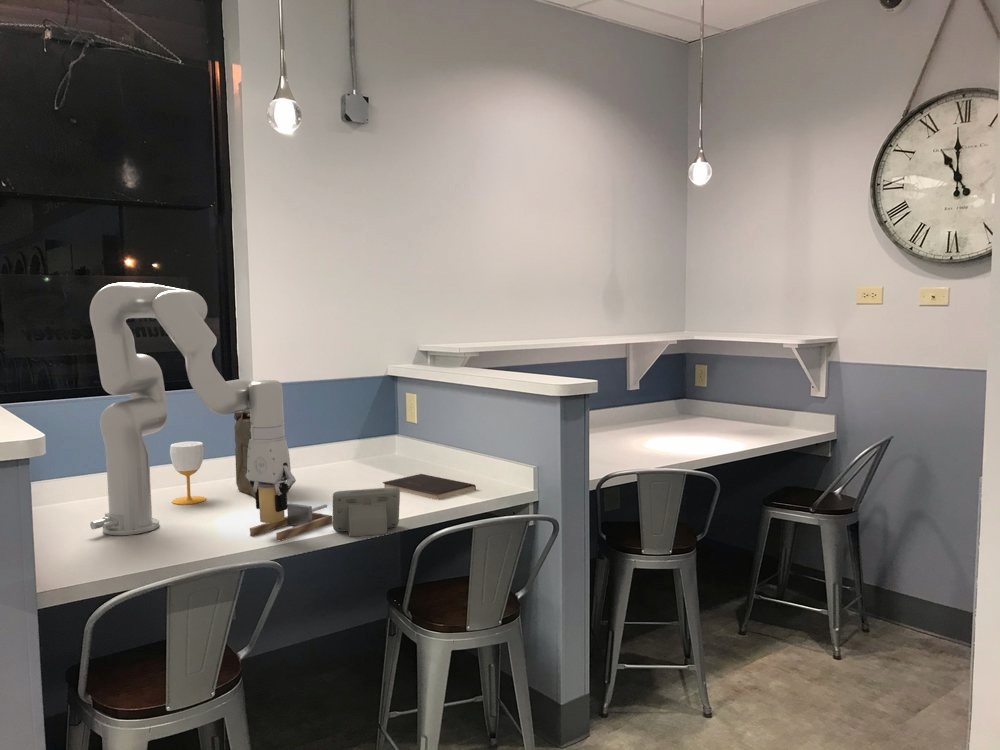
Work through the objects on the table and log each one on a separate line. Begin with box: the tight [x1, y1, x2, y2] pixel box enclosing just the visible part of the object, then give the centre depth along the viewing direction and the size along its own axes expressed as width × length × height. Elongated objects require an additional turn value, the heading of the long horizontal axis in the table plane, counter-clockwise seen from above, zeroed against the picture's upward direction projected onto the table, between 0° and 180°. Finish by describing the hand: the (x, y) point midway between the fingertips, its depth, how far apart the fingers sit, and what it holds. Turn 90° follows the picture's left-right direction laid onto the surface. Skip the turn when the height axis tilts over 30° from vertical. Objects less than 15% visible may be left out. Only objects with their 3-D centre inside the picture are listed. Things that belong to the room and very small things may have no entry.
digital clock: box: [332, 487, 401, 538], centre depth 196 cm, size 16×9×11 cm, turn 94°
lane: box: [249, 512, 333, 541], centre depth 199 cm, size 18×10×2 cm, turn 150°
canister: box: [233, 409, 256, 499], centre depth 235 cm, size 19×8×25 cm, turn 41°
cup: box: [169, 441, 207, 506], centre depth 227 cm, size 9×9×16 cm
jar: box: [258, 482, 286, 524], centre depth 192 cm, size 6×6×9 cm
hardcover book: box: [382, 473, 477, 500], centre depth 240 cm, size 16×23×2 cm
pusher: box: [286, 502, 328, 526], centre depth 205 cm, size 10×7×5 cm
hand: (271, 508), depth 192 cm, fingers closed on jar, 5 cm apart
